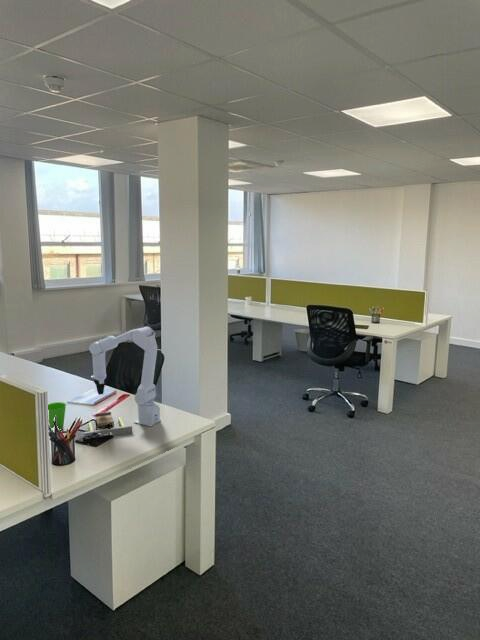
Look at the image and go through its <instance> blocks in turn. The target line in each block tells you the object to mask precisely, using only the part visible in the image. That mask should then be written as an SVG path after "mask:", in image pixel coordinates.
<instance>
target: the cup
mask: <svg viewBox="0 0 480 640" xmlns="http://www.w3.org/2000/svg"><path fill="white" fill-rule="evenodd" d="M47 404H48V410H49V420H48V424H49V428H50V429H51V428H53V427H54V424H53V419H54V417H55V415H56V416H57V426H58V428H59V429H62V430H63V429H64V424H65V418H66V417H65V416H66V414H65V413H66V407H67V403H66V402H63V401H55V402H50V403H47Z"/></svg>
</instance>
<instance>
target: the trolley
mask: <svg viewBox="0 0 480 640" xmlns="http://www.w3.org/2000/svg"><path fill="white" fill-rule="evenodd" d="M94 415H95V416H94V417H95V421H97V422H96V425H97V428H99V429H101V428H102V426H108V423H113V426H114V424H115V420H114V417H113V416H112V411H107V412H106V411H105V412H100V413H95V414H94Z"/></svg>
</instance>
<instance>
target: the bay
mask: <svg viewBox="0 0 480 640" xmlns="http://www.w3.org/2000/svg"><path fill="white" fill-rule="evenodd" d="M117 420H118V425H119V426H117V427H110V428H111V429H108V428H102V429H101V428H100V429H95V430H94V426H93V425H92V421H89V422H90V423H88V422H87V423H88V426H89V427H88V430H90V431H83V438H84V437H85V436H88V435H91V434H93V433H101V434H108V433H109V432H112V434H113V435H114V436H120V435H127V434H128V435H129V434H132V433H133V425H132V424H129V425H125V422H124V421H123V419H122V417H118V419H117Z"/></svg>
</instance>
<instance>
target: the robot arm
mask: <svg viewBox="0 0 480 640" xmlns="http://www.w3.org/2000/svg"><path fill="white" fill-rule="evenodd" d="M155 337H156V332H155V331H154V330H153V328H152V327H150V326H148V325H147V326H143V327H138V328H134V329H131V330H128V331H126V332H124V333H122V334H119V335H118V336H114V335H110V334H109V335H107V336H106V337H105V338H103V339H102V338H100V339H98V341H94V342H92V343H91V344H90V345H89V348H88V349H89V352H90V353H91V355H92V356H91V357H92V370H93V371H92V373H93V375H91V376H90V378H91V379H93V383H94V384H95V387H96V391H97V394H98V395H99V396H100V395H103V394H104V392H105V391H104V390H105V386H106V384H107V368H106V352H108V351H110V350H112V349H115V348H117V347H118V345H119V344H120V343H123V342H126V341H128V340H129V341H130V342H133V343H134V344H136V346H138V347H139V348H141V349H143V351H144V354H143V363H142V370H141V371H142V372H141V378H140V379H141V381H140V385H139V386H138V388H137V390H136V393H135V395H134V401H135V403H136V404H137V416H138V419H136V420H135V421H134V423H135V424H139V425H143V426H148V427H153V426H154V425H156V424H157V423H159V422H161V421H162V419H161V415H160V414H161V413H160V411H161V410H160V407H159V405H157V404H156V403H155V398H156V397H157V391H156V387H157V386H156V384H154V379H155V370H156V365H157V364H156V363H157V355H158V350H159V349H158V344H157V340H156V338H155Z"/></svg>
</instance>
